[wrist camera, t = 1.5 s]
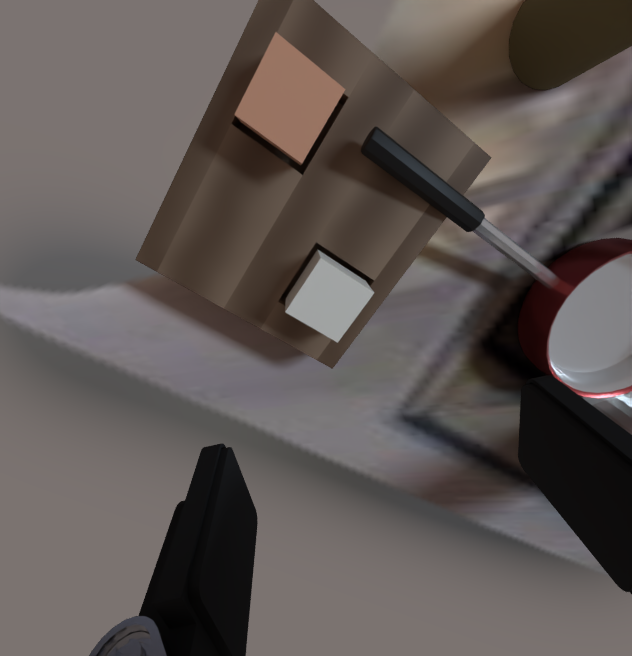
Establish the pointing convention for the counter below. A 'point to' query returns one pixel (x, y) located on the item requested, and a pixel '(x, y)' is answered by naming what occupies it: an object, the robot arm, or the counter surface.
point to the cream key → (327, 296)
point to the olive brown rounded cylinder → (566, 38)
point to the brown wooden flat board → (303, 186)
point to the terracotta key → (288, 100)
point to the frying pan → (545, 286)
